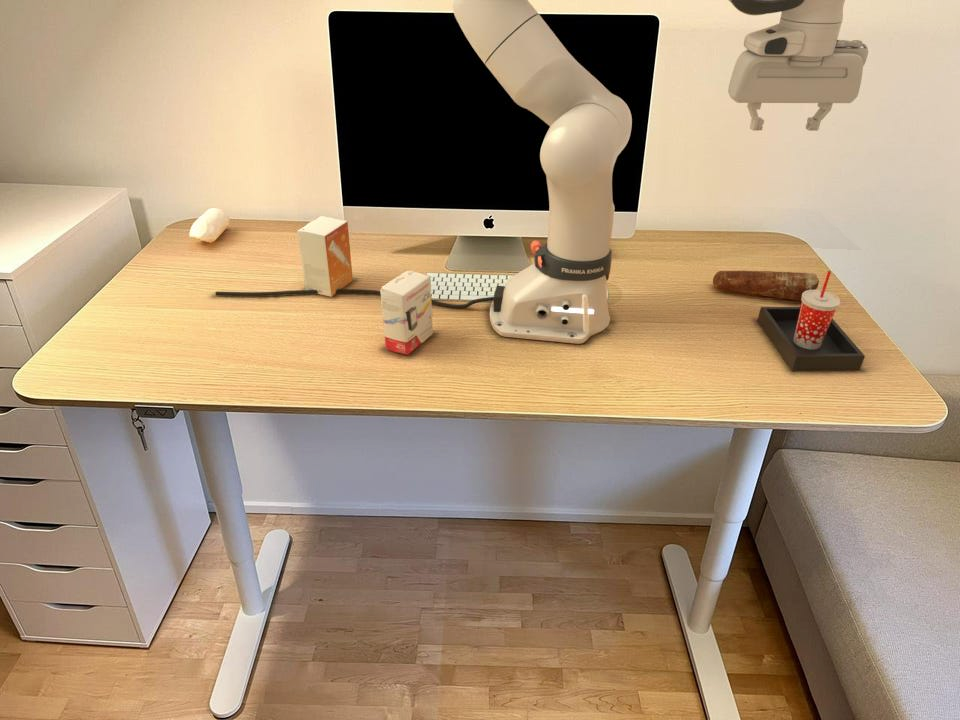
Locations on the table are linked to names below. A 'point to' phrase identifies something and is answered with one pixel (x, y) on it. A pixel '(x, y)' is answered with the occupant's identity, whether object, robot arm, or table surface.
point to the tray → (829, 357)
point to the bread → (766, 283)
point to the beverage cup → (815, 316)
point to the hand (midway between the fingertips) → (783, 129)
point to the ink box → (407, 311)
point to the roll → (209, 225)
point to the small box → (325, 255)
